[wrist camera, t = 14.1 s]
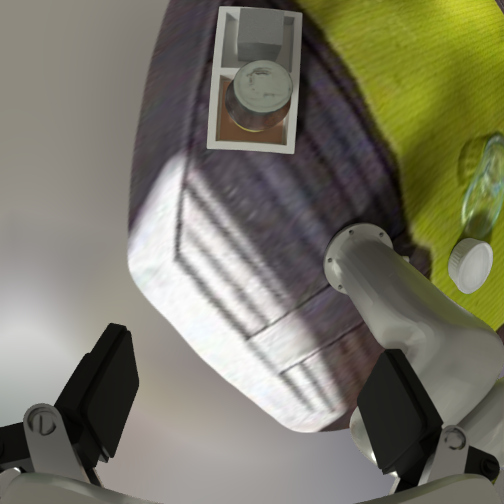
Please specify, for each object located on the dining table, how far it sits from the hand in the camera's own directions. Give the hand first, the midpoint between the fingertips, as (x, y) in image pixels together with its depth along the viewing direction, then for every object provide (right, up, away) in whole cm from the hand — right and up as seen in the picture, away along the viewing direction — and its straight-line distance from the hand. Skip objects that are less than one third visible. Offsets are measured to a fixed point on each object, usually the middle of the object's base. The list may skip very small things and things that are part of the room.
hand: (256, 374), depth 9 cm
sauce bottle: (0, +23, +25) cm, 34 cm away
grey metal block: (+1, +32, +21) cm, 39 cm away
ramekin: (+43, +3, +36) cm, 57 cm away
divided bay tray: (0, +28, +24) cm, 37 cm away
